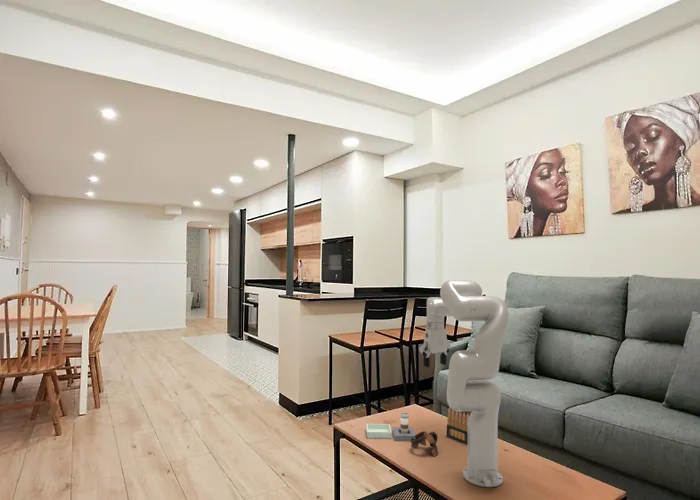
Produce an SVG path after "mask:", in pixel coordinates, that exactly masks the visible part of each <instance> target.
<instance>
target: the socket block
mask: <svg viewBox="0 0 700 500" xmlns="http://www.w3.org/2000/svg"><path fill="white" fill-rule="evenodd" d="M400 430H401V427H399V426H397V427H396V426H395V427H394V426H392V428H391V432H392V436H393V439H394V440H393V441H394V442H410V440H411V439H412V438H414V439H415V435H416V434H417V432H416V430H415V428H414V427H412V426H411V427H409V426H408V434H400Z"/></svg>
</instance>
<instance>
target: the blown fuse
mask: <svg viewBox="0 0 700 500" xmlns="http://www.w3.org/2000/svg"><path fill="white" fill-rule="evenodd" d="M399 417H400V424H399V425H400V427H401V430H400V434H408V427H409V413H407V412H400V416H399Z"/></svg>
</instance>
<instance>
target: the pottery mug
mask: <svg viewBox="0 0 700 500" xmlns="http://www.w3.org/2000/svg"><path fill="white" fill-rule="evenodd" d="M438 437H439V436H438V434H437V433H436V432H435V431H430V432H429V433H428V432H427V431H425V430H424V431H423V430H422V431H419V432H418V433H416V435H415V439H414V438H412V439H411V440H410V441H409V442H410V443H411V448H412V449H417V450H419V446H420V445H421V446H425V447H426V446H427V442H428V444H429V447H432V448H433V449H432V450H431V455H432V457H436V456H438V453H439V450H438V447H437V442H438ZM426 441H427V442H426Z"/></svg>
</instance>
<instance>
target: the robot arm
mask: <svg viewBox="0 0 700 500" xmlns="http://www.w3.org/2000/svg"><path fill="white" fill-rule="evenodd" d="M439 293H440V294H439V296H440V297H437V296H436V297H433V296H431V297H428V298H427V299H426V323H425V325H424V326H425V332H424V338H423V344H421V345H420V346H419V347H418V350H419V352H420V354H421V356H422V357H423V366H424V367H425V368H430V366H431V365H430V364H431V363H430V362H431V361H430V360H431V358H430V355H431V354H440V357H439V361H440V362H439V363H440V364H441V365H444V366H446V365H447V356H448V353H449V352H450V348H451V344H450V343H449V342H448V338H447V331H446V329H445V317H452V318H454V319H455V320H456V321H459V322H484V324H483V325H482V326H481V327H479V329H478V331H477V332H476V334H475V335H474V345H473V348H472V349H468V350H467V349H465V350H457V351H455V352H454V353H452V355H451V357H450V360H449V364H448V375H447V385H446V386H447V387H446V401H447V405H448V408H449V407H450V410H451V411H452V410H454V412H456V411H458V413H459V412H461V413H462V412H463V413H465V412H471V413H470V414H469V419H468V445H467V466H466V467H464V468H463V469H462V477H463V478H464V480H465V481H467V482H469V483H470V484H472V485H475V486H478V487H483V488H495V487H498V486H500V485H502V484H503V482H504V478H503V474H501V472H499V471H498V469H499V468H498V466H499V465H498V462H499V460H498V458H499V457H498V453H499V451H498V449H499V448H498V428H499V427H498V426H499V425H498V423H499V411H500V406H501V401H502V400H501V398H502V397H501V396H502V395H501V391H500V388H499V386H498V384H496V383H494V382H493V381H491V380H492V379H495V378H496V377H498V374H499V371H500V366H501V364H500V363H501V355H502V347H503V339H504V337H505V333H506V329H507V327H508V323H509V310H508V307H507V304H506V302H505V301H504V300H503V299H501V298H500V297H497V296H492V295H483V289H482V286H481V285H480V284H479V283H478V282H476V281H473V280H467V279H465V280H461V279H460V280H459V279H458V280H457V279H455V280H454V279H452V280H451V279H450V280H446V281H444V282H443V283H442V285H441V286H440V291H439Z"/></svg>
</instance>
